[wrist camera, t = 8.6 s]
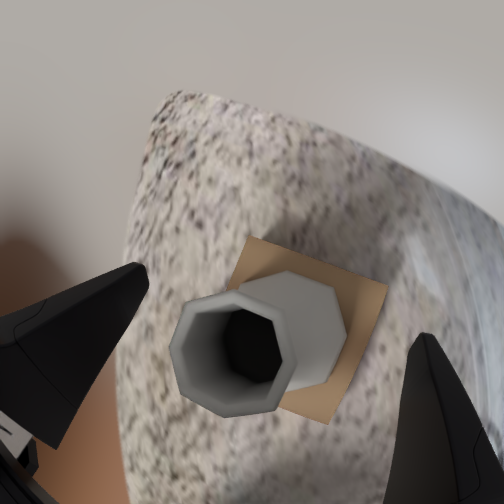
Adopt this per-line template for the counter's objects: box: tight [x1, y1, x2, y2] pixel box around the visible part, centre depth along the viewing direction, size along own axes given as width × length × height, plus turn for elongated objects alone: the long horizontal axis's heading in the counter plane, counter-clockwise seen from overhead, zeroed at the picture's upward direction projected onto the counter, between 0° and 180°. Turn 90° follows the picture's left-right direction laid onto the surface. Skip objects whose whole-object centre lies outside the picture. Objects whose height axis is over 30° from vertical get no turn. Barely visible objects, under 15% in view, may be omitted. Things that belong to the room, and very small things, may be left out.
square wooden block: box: [226, 235, 389, 425], centre depth 17 cm, size 9×9×3 cm
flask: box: [169, 270, 347, 418], centre depth 11 cm, size 7×7×10 cm
